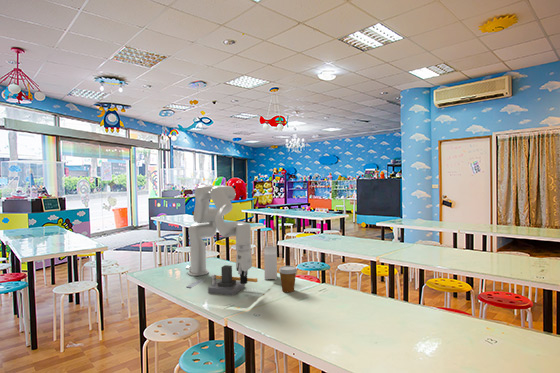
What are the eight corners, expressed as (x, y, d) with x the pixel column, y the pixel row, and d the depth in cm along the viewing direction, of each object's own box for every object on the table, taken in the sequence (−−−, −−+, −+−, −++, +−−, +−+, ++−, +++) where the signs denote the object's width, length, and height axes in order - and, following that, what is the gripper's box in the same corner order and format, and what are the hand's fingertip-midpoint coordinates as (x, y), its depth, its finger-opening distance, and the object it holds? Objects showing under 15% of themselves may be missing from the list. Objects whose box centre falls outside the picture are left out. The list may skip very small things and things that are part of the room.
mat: (186, 287, 177) (186, 286, 177) (200, 280, 190) (200, 279, 190) (209, 289, 173) (209, 288, 173) (221, 282, 186) (221, 281, 186)
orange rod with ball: (210, 278, 173) (210, 275, 173) (213, 277, 176) (213, 274, 176) (256, 282, 165) (256, 279, 165) (258, 281, 168) (258, 278, 168)
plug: (217, 291, 166) (217, 267, 166) (224, 287, 173) (223, 264, 173) (230, 292, 164) (229, 268, 164) (235, 288, 171) (235, 265, 171)
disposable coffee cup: (297, 287, 175) (297, 265, 174) (296, 293, 165) (296, 270, 165) (279, 287, 175) (279, 265, 175) (278, 293, 166) (277, 270, 166)
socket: (203, 294, 165) (202, 284, 165) (216, 286, 178) (216, 276, 178) (233, 298, 160) (233, 286, 160) (244, 289, 173) (244, 278, 173)
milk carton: (276, 279, 190) (276, 247, 189) (264, 279, 190) (264, 247, 190) (277, 276, 197) (276, 245, 197) (265, 276, 197) (265, 245, 197)
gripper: (244, 250, 156) (244, 288, 156) (255, 245, 171) (256, 279, 171) (230, 250, 159) (230, 287, 159) (242, 244, 173) (243, 278, 173)
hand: (243, 283), depth 165 cm, fingers closed
